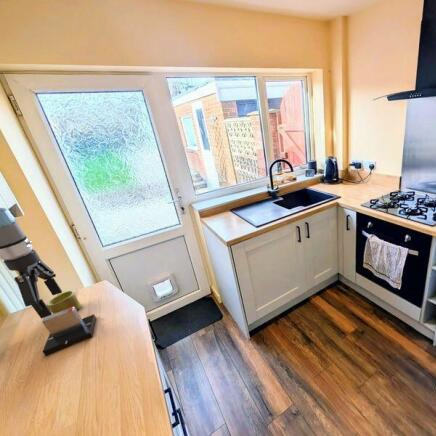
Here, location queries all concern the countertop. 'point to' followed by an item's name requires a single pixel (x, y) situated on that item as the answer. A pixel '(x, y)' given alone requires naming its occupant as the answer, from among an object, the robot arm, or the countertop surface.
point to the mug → (63, 302)
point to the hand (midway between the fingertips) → (52, 304)
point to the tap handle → (63, 322)
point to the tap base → (71, 337)
